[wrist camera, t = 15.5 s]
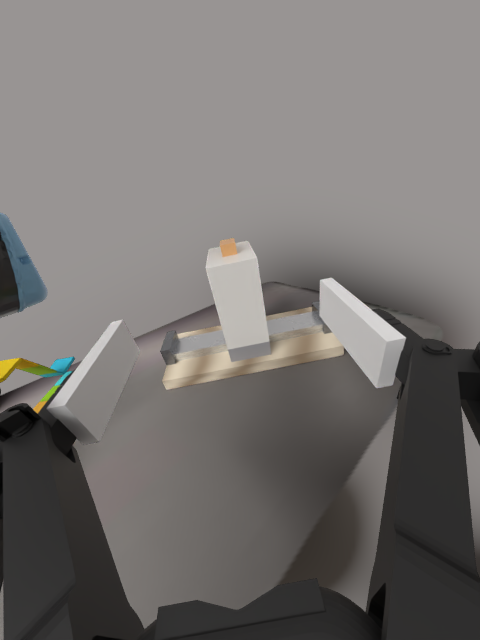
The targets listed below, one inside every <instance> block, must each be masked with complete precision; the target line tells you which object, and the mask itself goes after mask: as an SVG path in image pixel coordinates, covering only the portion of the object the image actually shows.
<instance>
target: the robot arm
mask: <svg viewBox="0 0 480 640" xmlns="http://www.w3.org/2000/svg"><path fill="white" fill-rule="evenodd" d="M46 297H47V288H46V286H45V285H44V283H43V281H42V279H41V277H40V275H39V273H38V271H37V270H36V268H35V266H34V264H33V262H32V260H31V259H30V257H29V255H28V253H27V251H26V249H25V248H24V246H23V244H22V242H21V240H20V238H19V237H18V235H17V233H16V231H15V229H14V227H13V225H12V224H11V222H10V220H9V218H8V217H7V216H6V215H5V214H3V213H0V318H2V317H5V316H8V315H11V314H13V313H16V312H21V311H23V310H24V309H25V308H27V307H30V306H32V305H35V304H37V303H40V302H42V301H43V300H44V299H45V298H46ZM319 316H320V317H321V318H322V320H323V321H324V322H325V324H326V325H327V326H328V327H329V329H330V330H331V331H332V332H333V334H334V335H335V336H336V338H337V339H338V340H339V341H340V343H341V344H342V345H343V346H344V348H345V349H346V350H347V352H348V353H349V354H350V355H351V357H352V358H353V359H354V360H355V362H356V363H357V364H358V366H359V367H360V368H361V369H362V371H363V372H364V373H365V374H366V376H367V377H368V378H369V380H370V381H371V382H372V383H373V385H374V386H375V387H376V388H381V387H386V386H391V385H393V383H394V379H395V376H396V377H397V378H398V379H399V380H400V381H401V382H402V383H401V386H400V390H399V393H398V396H397V399H398V406H397V413H396V420H395V427H394V435H393V441H392V448H391V455H390V462H389V469H388V476H387V483H386V490H385V497H384V504H383V511H382V518H381V525H380V532H379V539H378V546H377V552H376V558H375V563H374V567H373V571H372V576H371V581H370V587H369V594H368V601H367V607H366V612H364V611H363V610H362V609H361V608H360V607H359V606H357V605H356V604H355V603H354V602H352V601H351V600H350V599H348V598H346V597H345V596H343V595H341V594H340V593H338V592H335V591H333V590H330V589H328V588H324V587H319V585H318V581H317V578H315V579H310V580H304V581H299V582H294V583H288V584H282V585H278V586H276V587H274V588H273V589H271V590H270V591H268V592H267V593H265V594H264V595H262V596H260V597H259V598H257V599H256V600H254V601H253V602H251V603H250V604H248V605H246V606H245V607H243V608H242V609H239V610H233V609H230V608H226V607H222V606H218V605H214V604H210V603H206V602H202V601H198V600H195V601H190V602H184V603H179V604H173V605H168V606H162V607H159V608H158V615H157V620H155V621H154V622H153V623H152V624H150V625H149V626H148V627H147V628H146V629H145V630H144V627H143V625H142V623H141V621H140V619H139V617H138V615H137V614H136V613H135V611H134V610H133V609H132V607H131V606H130V604H129V602H128V600H127V598H126V595H125V592H124V589H123V587H122V584H121V581H120V578H119V575H118V572H117V569H116V566H115V563H114V560H113V557H112V554H111V551H110V548H109V545H108V542H107V539H106V536H105V533H104V530H103V527H102V525H101V522H100V519H99V516H98V513H97V510H96V507H95V504H94V501H93V498H92V495H91V492H90V489H89V486H88V483H87V480H86V477H85V474H84V471H83V468H82V465H81V463H80V460H79V457H78V454H77V451H76V449H75V448H74V447H73V446H72V445H73V443H74V442H75V440H76V438H77V439H78V440H79V441H80V442H81V443H82V444H83V445H87V444H93V443H98V442H100V440H101V438H102V435H103V433H104V431H105V429H106V426H107V424H108V422H109V420H110V418H111V415H112V413H113V411H114V409H115V406H116V404H117V402H118V400H119V398H120V395H121V393H122V391H123V389H124V386H125V384H126V382H127V380H128V378H129V375H130V373H131V371H132V369H133V366H134V364H135V362H136V360H137V358H138V355H139V353H140V350H139V348H138V346H137V345H136V343H135V341H134V339H133V337H132V335H131V333H130V332H129V330H128V328H127V326H126V324H125V322H124V321H123V320H119V321H115V322H111V324H110V325H109V326H108V328H107V329H106V330H105V332H104V333H103V334H102V336H101V337H100V338H99V340H98V341H97V342H96V344H95V345H94V346H93V347H92V349H91V350H90V351H89V353H88V354H87V355H86V357H85V358H84V359H83V361H82V362H81V363H80V365H79V366H78V367H77V369H75V370H74V371H73V372H71V373H70V374H69V375H68V376H67V377H66V378H65V379H64V380H63V382H62V383H61V384H60V386H59V387H58V388H57V389H56V391H55V393H53V394H52V396H51V397H50V398H49V400H48V401H47V402H46V403H45V405H44V406H43V407H42V409H41V410H40V411H39V412H38V414H37V413H36V412H35V411H34V410H33V409H32V408H31V407H30V406H29V405H28V404H26V403H21V404H17V405H15V406H12V407H10V408H8V409H7V410H5V411H4V412H2V413H0V591H1V587H2V582H3V590H4V640H480V578H479V576H478V573H477V569H476V563H475V552H474V541H473V531H472V520H471V509H470V499H469V487H468V477H467V466H466V456H465V444H464V434H463V423H462V412H461V407H462V409H463V411H464V413H465V415H466V417H467V419H468V422H469V424H470V426H471V428H472V430H473V432H474V434H475V437H476V438H477V440H478V443H479V445H480V342H479V343H478V345H477V347H476V349H475V350H469V349H453V348H452V347H451V346H450V345H448V344H446V343H444V342H442V341H438V340H434V339H423V338H422V337H420V336H419V335H418V334H416V333H415V332H414V331H412V330H411V329H410V328H408V327H407V326H406V325H404V324H402V323H401V322H400V321H399V320H398V319H395V317H393V316H392V315H391V314H389V313H388V312H386V311H383V310H380V309H373V310H371V309H370V308H369V307H367V306H366V305H365V304H364V303H362V302H361V301H360V300H359V299H357V298H356V297H355V296H354V295H352V294H351V293H350V292H349V291H348V290H346V289H345V288H344V287H343V286H341V285H340V284H339V283H337V282H336V281H335V280H334V279H333V278H328V279H323V280H320V312H319ZM0 394H1V389H0Z"/></svg>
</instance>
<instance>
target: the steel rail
mask: <svg viewBox="0 0 480 640" xmlns="http://www.w3.org/2000/svg"><path fill="white" fill-rule="evenodd" d="M319 312H320V301H316V302H312V312H307V313H302V314H298V315H293V316H288V317H283V318H278V319H273V320H268V321H267V327H268V334H269V341H270V343H271V342H276V341H281V340H286V339H291V338H296V337H301V336H306V335H311V334H316V333H321V332H323V333H324V334H327V333H332V331H331V330H330V329H329V327H328V326H327V325H326V324H325V322H324V321H323V320H322V318H321V317H320V316H319ZM226 351H228V348H227V345H226V341H225V338H224V334H223V330H219V331H214V332H209V333H204V334H199V335H194V336H189V337H184V338H178V335H177V333H176V330H174V331H169V332H167V334H166V337H165V340H164V342H163V345H162V348H161V351H160V352H161V354H162V356H163V358H164V360H165V362H166V364H167V365H172V364H176V361H181V360H186V359H191V358H196V357H201V356H206V355H211V354H216V353H221V352H226Z"/></svg>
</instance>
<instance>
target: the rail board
mask: <svg viewBox="0 0 480 640" xmlns="http://www.w3.org/2000/svg"><path fill="white" fill-rule="evenodd" d="M307 312H312V307H308V308H303V309H298V310H294V311H289V312H284V313H279V314H274V315H269V316H266V321H268V320H273V319H278V318H283V317H288V316H293V315H298V314H302V313H307ZM219 330H222V327H221V325H220V326H215V327H210V328H205V329H200V330H195V331H190V332H186V333H181V334H177V335H178V338H184V337H189V336H194V335H199V334H204V333H209V332H214V331H219ZM270 348H271V355H266V356H261V357H256V358H251V359H245V360H240V361H235V362H231V359H230V356H229V352H228V351H226V352H221V353H216V354H211V355H206V356H201V357H196V358H191V359H186V360H181V361H176V364H172V365H167V367H166V371H165V374H164V377H163V381H162V382H163V384H164V386H165V388H166V389H167V390H169V389H174V388H179V387H184V386H189V385H194V384H199V383H204V382H209V381H214V380H220V379H225V378H230V377H235V376H240V375H245V374H250V373H255V372H260V371H265V370H270V369H275V368H280V367H286V366H291V365H296V364H301V363H306V362H311V361H316V360H321V359H326V358H331V357H336V356H341V355H344V346H343V345H342V344H341V343H340V341H339V340H338V339H337V338H336V336H335V335H334V334H333V332H332V333H327V334H324V333H323V332H321V333H316V334H311V335H306V336H301V337H296V338H291V339H286V340H281V341H276V342H271V343H270Z"/></svg>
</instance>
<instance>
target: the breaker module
mask: <svg viewBox="0 0 480 640" xmlns="http://www.w3.org/2000/svg"><path fill="white" fill-rule="evenodd" d="M206 272H207V276H208V280H209V283H210V287H211V291H212V294H213V298H214V301H215V305H216V309H217V312H218V316H219V319H220V323H221V327H222V330H223V334H224V338H225V341H226V345H227V348H228V352H229V356H230V359H231V362H235V361H240V360H245V359H251V358H256V357H261V356H266V355H271V348H270V341H269V334H268V327H267V321H266V314H265V307H264V301H263V294H262V287H261V281H260V274H259V267H258V260H257V257H256V255H255V253H254V251H253V249H252V247H251V245H250V244H249V242H248V241H244V242H239V243H235V240H234V238H231V239H227V240H222V241H220V247H216V248H211V249H209V251H208V257H207V263H206Z"/></svg>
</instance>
